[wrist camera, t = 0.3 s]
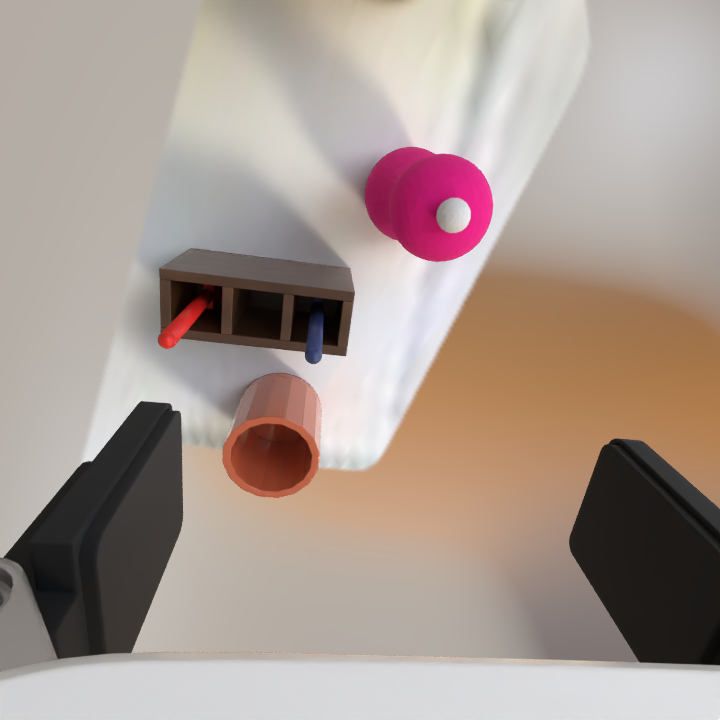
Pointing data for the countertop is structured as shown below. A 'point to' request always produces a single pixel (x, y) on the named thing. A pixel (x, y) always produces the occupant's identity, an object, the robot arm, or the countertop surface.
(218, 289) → the red toy mallet
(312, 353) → the blue rounded rod
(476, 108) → the countertop surface
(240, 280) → the caddy
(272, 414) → the crock
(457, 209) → the pepper mill
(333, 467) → the countertop surface
